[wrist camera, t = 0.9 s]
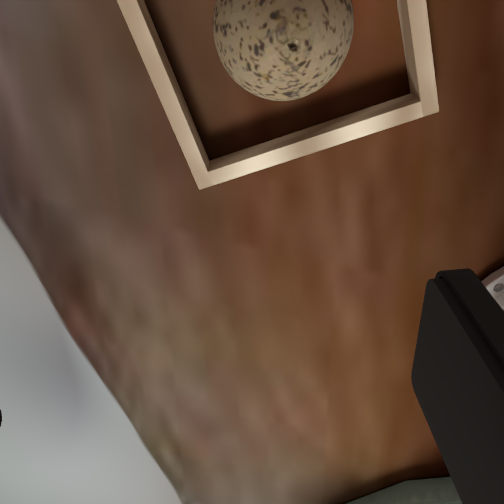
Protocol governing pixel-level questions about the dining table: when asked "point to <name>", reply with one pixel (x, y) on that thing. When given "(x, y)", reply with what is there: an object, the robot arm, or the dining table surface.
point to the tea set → (415, 493)
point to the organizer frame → (301, 141)
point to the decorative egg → (282, 43)
